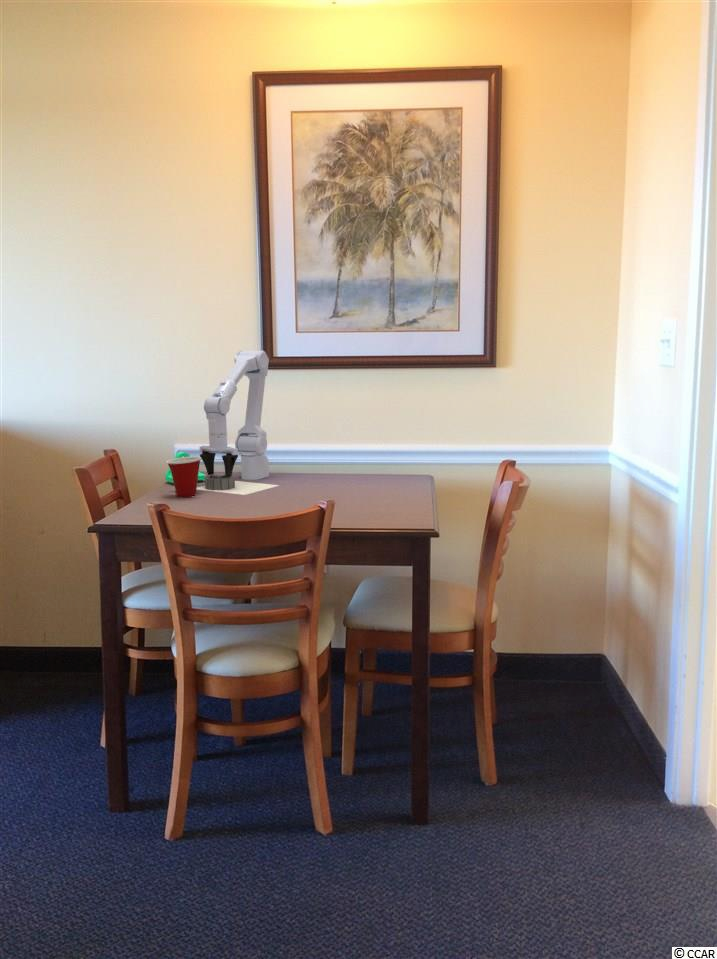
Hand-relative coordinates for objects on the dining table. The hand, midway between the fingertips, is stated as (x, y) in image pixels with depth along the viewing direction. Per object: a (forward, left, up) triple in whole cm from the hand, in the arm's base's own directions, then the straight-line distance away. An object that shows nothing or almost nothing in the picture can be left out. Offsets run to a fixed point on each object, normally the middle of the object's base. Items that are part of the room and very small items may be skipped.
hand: (219, 475), depth 282 cm
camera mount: (-5, -20, -5) cm, 21 cm away
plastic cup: (+13, -3, -5) cm, 14 cm away
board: (-3, +4, -5) cm, 7 cm away
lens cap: (0, 0, -4) cm, 4 cm away
